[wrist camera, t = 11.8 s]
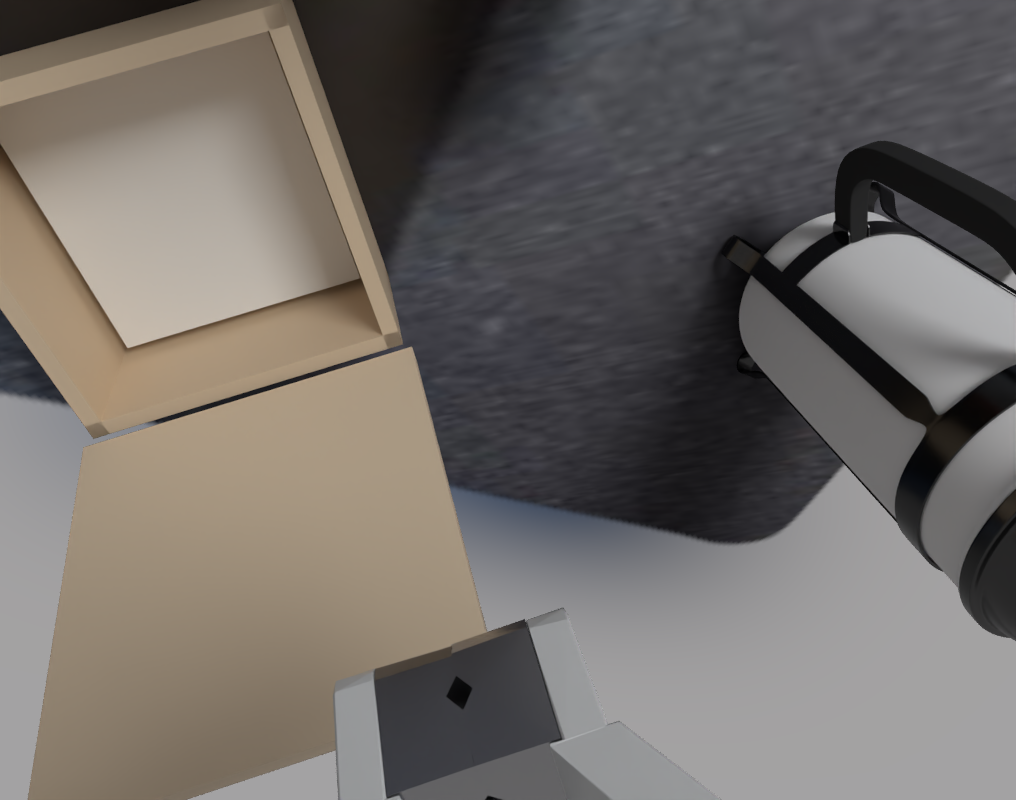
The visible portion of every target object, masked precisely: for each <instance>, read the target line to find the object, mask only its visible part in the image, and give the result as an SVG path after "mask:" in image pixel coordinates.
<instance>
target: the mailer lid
mask: <svg viewBox="0 0 1016 800" xmlns="http://www.w3.org/2000/svg"><path fill="white" fill-rule="evenodd" d="M486 632H487V629H486V625H485V621H484V617H483V613H482V610H481V607H480V603H479V599H478V595H477V591H476V588H475V583H474V580H473V576H472V572H471V568H470V565H469V561H468V557H467V553H466V549H465V545H464V542H463V537H462V534H461V530H460V526H459V522H458V518H457V514H456V510H455V507H454V503H453V499H452V495H451V491H450V487H449V484H448V480H447V476H446V472H445V468H444V464H443V461H442V457H441V453H440V449H439V445H438V441H437V437H436V434H435V430H434V426H433V422H432V418H431V414H430V411H429V407H428V403H427V399H426V395H425V391H424V388H423V384H422V380H421V376H420V372H419V368H418V364H417V361H416V357H415V354H414V352H413V349H412V347H409V348H406V349H403V350H399V351H396V352H393V353H390V354H386V355H383V356H380V357H377V358H373V359H370V360H367V361H364V362H360V363H357V364H354V365H350V366H347V367H344V368H341V369H337V370H334V371H331V372H328V373H324V374H321V375H318V376H315V377H311V378H308V379H305V380H302V381H298V382H295V383H292V384H288V385H285V386H282V387H279V388H275V389H272V390H269V391H266V392H262V393H259V394H256V395H253V396H249V397H246V398H243V399H239V400H236V401H233V402H230V403H226V404H223V405H220V406H217V407H213V408H210V409H207V410H204V411H200V412H197V413H194V414H191V415H187V416H184V417H181V418H177V419H174V420H171V421H168V422H164V423H161V424H158V425H155V426H151V427H148V428H145V429H142V430H138V431H135V432H132V433H128V434H126V435H122V436H119V437H116V438H113V439H109V440H106V441H103V442H99V443H96V444H93V445H89V446H86V447H83V453H82V459H81V466H80V473H79V478H78V486H77V492H76V497H75V504H74V510H73V516H72V523H71V529H70V535H69V542H68V548H67V554H66V561H65V567H64V573H63V580H62V586H61V592H60V599H59V605H58V612H57V618H56V624H55V630H54V637H53V643H52V649H51V655H50V662H49V668H48V674H47V681H46V687H45V693H44V699H43V706H42V712H41V718H40V726H39V731H38V737H37V744H36V750H35V757H34V763H33V769H32V775H31V782H30V788H29V794H28V800H187V799H190V798H193V797H196V796H199V795H202V794H205V793H208V792H211V791H214V790H217V789H220V788H223V787H226V786H229V785H232V784H235V783H238V782H241V781H244V780H247V779H250V778H253V777H256V776H259V775H262V774H265V773H268V772H271V771H274V770H277V769H280V768H283V767H286V766H290V765H292V764H296V763H299V762H302V761H304V760H307V759H311V758H313V757H316V756H319V755H323V754H326V753H329V752H332V751H335V750H336V746H335V727H334V707H333V693H334V688H335V683H336V681H338V680H341V679H344V678H347V677H350V676H354V675H357V674H360V673H363V672H366V671H369V670H372V669H375V668H380V667H383V666H386V665H390V664H393V663H396V662H399V661H403V660H406V659H409V658H412V657H416V656H419V655H422V654H426V653H429V652H432V651H435V650H439V649H442V648H445V647H449V646H451V644H454V643H457V642H459V641H462V640H465V639H468V638H471V637H474V636H477V635H480V634H483V633H486Z"/></svg>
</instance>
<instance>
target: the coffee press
mask: <svg viewBox="0 0 1016 800" xmlns="http://www.w3.org/2000/svg"><path fill="white" fill-rule="evenodd" d="M873 180H875V181H878V182H880V183H882V184H884V185H886V186H888V187H889V188H891V189H893V190H895V191H897V192H898V193H900V194H902V195H904V196H906V197H907V198H909V199H911V200H913V201H915V202H916V203H918V204H920V205H922V206H924V207H925V208H927V209H929V210H931V211H932V212H934V213H936V214H938V215H940V216H941V217H943V218H945V219H947V220H949V221H950V222H952V223H954V224H956V225H957V226H959V227H961V228H963V229H964V230H966V231H968V232H970V233H971V234H973V235H975V236H977V237H978V238H980V239H981V240H983V241H985V242H986V243H987V244H989V245H990V246H991V247H993V248H994V249H995V250H996V251H997V252H998V253H999V254H1000V255H1001V256H1002V257H1003V258H1004V259H1005V260H1006V262H1007V263H1008V264H1009V266H1010V267H1011V268H1012V270H1013V272H1014V273H1015V274H1016V201H1015V200H1013V199H1011V198H1010V197H1008V196H1006V195H1005V194H1003V193H1001V192H999V191H997V190H996V189H994V188H992V187H990V186H988V185H986V184H984V183H982V182H980V181H978V180H976V179H974V178H972V177H970V176H968V175H966V174H964V173H962V172H960V171H958V170H955V169H953V168H951V167H949V166H947V165H945V164H943V163H941V162H939V161H937V160H934V159H932V158H930V157H928V156H926V155H924V154H922V153H919V152H917V151H915V150H913V149H910V148H908V147H905V146H903V145H900V144H897V143H893V142H888V141H877V142H873V143H870V144H867V145H865V146H862V147H859V148H857V149H855V150H853V151H851V152H849V153H848V154H847V155H846V156H845V157H844V159H843V161H842V162H841V164H840V167H839V170H838V174H837V179H836V188H835V212H834V213H830V214H826V215H823V216H820V217H817V218H815V219H812V220H810V221H808V222H806V223H804V224H802V225H800V226H798V227H797V228H795V229H794V230H792V231H791V232H789V233H788V234H786V235H785V236H784V237H783V238H781V239H780V240H779V241H778V242H777V243H776V244H775V245H774V246H773V247H772V248H771V249H770V250H769V251H768V252H767V253H765V252H763V251H761V250H760V249H758V248H756V247H755V246H753V245H752V244H750V243H748V242H747V241H745V240H744V239H742V238H740V237H738V236H736V235H733V236H732V238H731V239H730V241H729V242H728V244H727V245H726V247H725V248H724V250H723V251H722V255H724V256H725V257H726V258H727V259H729V260H730V261H732V262H733V263H735V264H736V265H738V266H739V267H741V268H742V269H743V270H745V271H746V272H748V273H749V274H750V275H751V276H750V278H749V280H748V282H747V285H746V287H745V290H744V293H743V296H742V300H741V304H740V311H739V328H740V334H741V338H742V341H743V344H744V346H745V348H746V350H747V352H745V353H744V354H742V355H741V356H740V358H739V359H738V362H737V370H738V371H739V372H740V373H742V374H745V375H748V376H750V377H753V378H767V379H768V380H769V381H770V382H771V383H772V384H773V385H774V386H775V387H776V389H777V390H778V391H779V392H780V393H781V394H782V395H783V396H784V397H785V399H786V400H787V401H788V402H789V403H790V404H791V405H792V406H793V407H794V409H795V410H796V411H797V412H798V413H799V414H800V415H801V416H802V417H803V419H804V420H805V421H806V422H807V423H808V424H809V425H810V426H811V427H812V429H813V430H814V431H815V432H816V433H817V434H818V435H819V436H820V438H821V439H822V440H823V441H824V442H825V443H826V444H827V445H828V446H829V448H830V449H831V450H832V451H833V452H834V453H835V454H836V455H837V456H838V458H839V459H840V460H841V461H842V462H843V463H844V464H845V465H846V466H847V468H848V469H849V470H850V471H851V472H852V473H853V474H854V475H855V476H856V478H857V479H858V480H859V481H860V482H861V483H862V484H863V485H864V486H865V488H866V489H867V490H868V491H869V492H870V493H871V494H872V495H873V496H874V498H875V499H876V500H877V501H878V502H879V503H880V504H881V505H882V506H883V508H884V509H885V510H886V511H887V512H888V513H889V514H890V515H891V516H892V518H893V519H894V520H895V521H896V522H897V523H898V526H899V528H900V530H901V531H902V533H903V534H904V535H905V536H906V538H907V539H908V540H909V541H910V542H911V543H912V545H913V546H914V547H915V548H916V549H917V550H918V551H919V552H920V553H921V555H922V556H923V557H924V558H925V559H926V560H927V561H928V562H929V563H930V564H931V565H932V566H934V567H935V568H937V569H938V570H940V571H943V572H944V573H945V574H946V575H947V576H948V577H949V578H950V579H951V580H952V582H953V583H954V584H955V585H956V586H957V587H958V590H959V593H960V598H961V601H962V603H963V606H964V607H965V609H966V610H967V612H968V613H969V614H970V615H971V616H972V617H973V618H974V620H975V621H976V622H977V623H978V624H979V625H980V626H981V627H982V628H984V629H985V630H987V631H988V632H991V633H992V634H995V635H998V636H1001V637H1006V638H1012V639H1013V640H1015V641H1016V296H1015V295H1013V294H1012V293H1010V292H1008V291H1007V290H1005V289H1003V288H1002V287H1000V286H999V285H997V284H995V283H994V282H992V281H990V280H989V279H987V278H985V277H984V276H982V275H981V274H979V273H977V272H976V271H974V270H972V269H971V268H969V267H967V266H966V265H964V264H963V263H961V262H959V261H958V260H956V259H954V258H953V257H951V256H949V255H948V254H946V253H945V252H943V251H941V250H940V249H938V248H936V247H935V246H933V245H931V244H930V243H928V242H926V241H925V240H923V239H921V238H920V237H918V236H921V237H923V238H925V239H926V240H928V241H929V242H931V243H933V244H934V245H936V246H938V247H939V248H941V249H942V250H944V251H946V252H947V253H949V254H951V255H952V256H954V257H956V258H957V259H959V260H960V261H962V262H964V263H965V264H967V265H969V266H970V267H972V268H974V269H975V270H977V271H978V272H980V273H982V274H983V275H985V276H987V277H988V278H990V279H992V280H993V281H995V282H996V283H998V284H1000V285H1001V286H1003V287H1005V288H1006V289H1008V290H1010V291H1011V292H1013V293H1015V294H1016V290H1014V289H1012V288H1011V287H1009V286H1007V285H1006V284H1004V283H1002V282H1001V281H999V280H997V279H996V278H994V277H992V276H991V275H989V274H988V273H986V272H984V271H983V270H981V269H979V268H978V267H976V266H974V265H973V264H971V263H969V262H968V261H966V260H964V259H963V258H961V257H959V256H958V255H956V254H955V253H953V252H951V251H950V250H948V249H946V248H945V247H943V246H941V245H940V244H938V243H936V242H935V241H933V240H932V239H930V238H928V237H927V236H925V235H923V234H922V233H920V232H919V231H917V230H915V229H914V228H912V227H911V226H909V225H908V224H906V223H905V222H903V221H902V220H901V219H900V218H899V217H898V215H897V212H896V208H895V198H894V193H893V192H892V191H891V190H889V189H888V188H886V187H884V186H883V185H881V184H879V183H878V182H872V181H873ZM878 196H880V204H881V207H882V210H883V211H884V212H885V213H886V214H887V215H888V216H890V217H891V218H893V219H894V220H896V221H897V222H899V223H900V224H899V223H895V222H893V221H891V220H889V219H887V218H885V217H883V216H881V215H879V214H876V213H874V204H875V201H876V199H877V198H878ZM916 235H917V236H916ZM755 362H756V364H757V365H758V366H759V367H760V368H761V369H762V370H763V372H764V373H763V372H760V371H752V366H753V364H754V363H755Z"/></svg>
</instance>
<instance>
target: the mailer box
mask: <svg viewBox="0 0 1016 800" xmlns="http://www.w3.org/2000/svg"><path fill="white" fill-rule="evenodd" d="M0 309H1V310H2V312H3V313H4V314H5V316H6V317H7V319H8V320H9V321H10V323H11V324H12V326H13V327H14V328H15V330H16V331H17V333H18V334H19V335H20V337H21V338H22V340H23V341H24V342H25V344H26V345H27V347H28V348H29V349H30V351H31V352H32V354H33V355H34V356H35V358H36V359H37V360H38V362H39V363H40V365H41V366H42V367H43V369H44V370H45V372H46V373H47V374H48V376H49V377H50V379H51V380H52V381H53V383H54V384H55V386H56V387H57V388H58V390H59V391H60V393H61V394H62V395H63V397H64V398H65V400H66V401H67V402H68V404H69V405H70V407H71V408H72V409H73V411H74V412H75V414H76V415H77V416H78V418H79V419H80V420H81V422H82V423H83V425H84V426H85V427H86V429H87V430H88V432H89V433H90V434H91V436H92V437H93V438H98V437H101V436H104V435H107V434H110V433H114V432H117V431H120V430H124V429H127V428H130V427H133V426H137V425H140V424H143V423H147V422H150V421H153V420H156V419H160V418H163V417H166V416H170V415H173V414H176V413H179V412H183V411H186V410H189V409H192V408H196V407H199V406H202V405H205V404H209V403H212V402H215V401H219V400H222V399H225V398H228V397H232V396H235V395H238V394H241V393H245V392H248V391H251V390H254V389H258V388H261V387H264V386H268V385H271V384H274V383H277V382H281V381H284V380H287V379H290V378H294V377H297V376H300V375H304V374H307V373H310V372H313V371H317V370H320V369H323V368H326V367H330V366H333V365H336V364H339V363H343V362H346V361H349V360H353V359H356V358H359V357H362V356H366V355H369V354H372V353H375V352H379V351H382V350H385V349H388V348H392V347H395V346H398V345H402V344H403V342H402V337H401V332H400V328H399V323H398V318H397V314H396V309H395V304H394V300H393V295H392V290H391V286H390V281H389V276H388V273H387V270H386V267H385V265H384V262H383V259H382V256H381V253H380V250H379V247H378V245H377V242H376V239H375V236H374V233H373V230H372V227H371V224H370V222H369V219H368V216H367V213H366V210H365V207H364V204H363V201H362V199H361V196H360V193H359V190H358V187H357V184H356V181H355V179H354V176H353V173H352V170H351V167H350V164H349V161H348V158H347V156H346V153H345V150H344V147H343V144H342V141H341V138H340V135H339V133H338V130H337V127H336V124H335V121H334V118H333V115H332V113H331V110H330V107H329V104H328V101H327V98H326V95H325V92H324V90H323V87H322V84H321V81H320V78H319V75H318V72H317V69H316V67H315V64H314V61H313V58H312V55H311V52H310V49H309V47H308V44H307V41H306V38H305V35H304V32H303V29H302V26H301V24H300V21H299V18H298V15H297V12H296V9H295V6H294V3H293V1H292V0H200V1H196V2H193V3H189V4H185V5H182V6H178V7H175V8H171V9H168V10H164V11H160V12H157V13H153V14H150V15H146V16H143V17H139V18H135V19H132V20H128V21H125V22H121V23H117V24H114V25H110V26H107V27H103V28H100V29H96V30H92V31H89V32H85V33H82V34H78V35H74V36H71V37H67V38H64V39H60V40H57V41H53V42H49V43H46V44H42V45H39V46H35V47H32V48H28V49H24V50H21V51H17V52H14V53H10V54H6V55H3V56H0Z"/></svg>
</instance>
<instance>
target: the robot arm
mask: <svg viewBox="0 0 1016 800" xmlns="http://www.w3.org/2000/svg"><path fill="white" fill-rule="evenodd" d="M526 624H527V625H526ZM527 627H528V628H527ZM528 630H529V631H528ZM529 633H530V634H529ZM533 646H534V647H533ZM536 656H537V657H536ZM537 659H538V660H537ZM540 669H541V670H540ZM333 707H334V727H335V746H336V765H337V785H338V800H721V799H720V798H719V797H717V796H716V795H715V794H713V793H712V792H711V791H710V790H708V789H707V788H706V787H704V786H703V785H702V784H701V783H699V782H698V781H697V780H695V779H694V778H693V777H692V776H690V775H689V774H688V773H686V772H685V771H684V770H683V769H681V768H680V767H679V766H677V765H676V764H675V763H673V762H672V761H671V760H670V759H668V758H667V757H666V756H664V755H663V754H662V753H661V752H659V751H658V750H657V749H655V748H654V747H653V746H651V745H650V744H649V743H647V742H646V741H645V740H644V739H642V738H641V737H640V736H638V735H637V734H636V733H635V732H633V731H632V730H631V729H629V728H628V727H627V726H626V725H624V724H623V723H622V722H620V721H618V722H614V723H611V724H608V723H607V721H606V718H605V715H604V712H603V709H602V707H601V704H600V701H599V699H598V696H597V693H596V690H595V688H594V685H593V682H592V679H591V677H590V674H589V671H588V669H587V666H586V663H585V660H584V657H583V655H582V652H581V649H580V647H579V644H578V641H577V638H576V635H575V633H574V630H573V628H572V625H571V622H570V619H569V616H568V614H567V613H566V611H565V610H564V608H560V609H558V610H554V611H552V612H549V613H546V614H543V615H540V616H537V617H534V618H531V619H528V620H527V621H526V622H525V619H524V620H521V621H518V622H515V623H512V624H510V625H506V626H503V627H501V628H498V629H495V630H492V631H489V632H486V633H483V634H480V635H477V636H474V637H471V638H468V639H465V640H462V641H459V642H457V643H454V644H451V646H449V647H445V648H442V649H439V650H435V651H432V652H429V653H426V654H422V655H419V656H416V657H412V658H409V659H406V660H403V661H399V662H396V663H393V664H390V665H386V666H383V667H380V668H375V669H372V670H369V671H366V672H363V673H360V674H357V675H354V676H350V677H347V678H344V679H341V680H338V681H336V683H335V688H334V693H333Z"/></svg>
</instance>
